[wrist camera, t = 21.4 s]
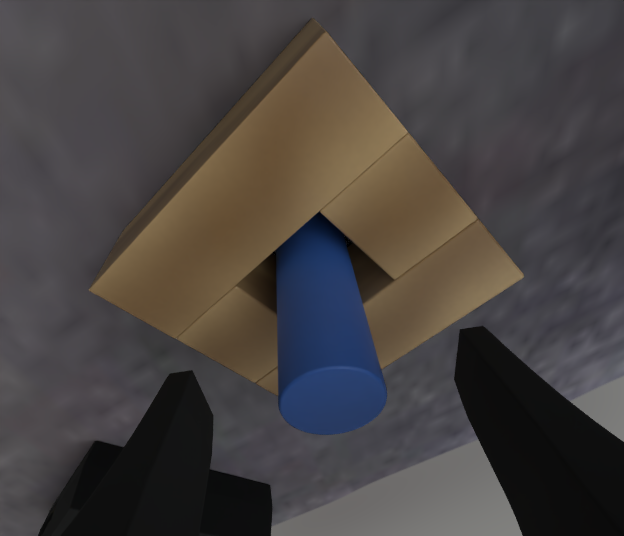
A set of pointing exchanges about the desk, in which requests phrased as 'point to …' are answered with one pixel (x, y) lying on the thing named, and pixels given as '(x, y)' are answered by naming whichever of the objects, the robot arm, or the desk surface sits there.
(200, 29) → the desk surface
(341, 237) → the handle
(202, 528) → the battery charger
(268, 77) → the holder
